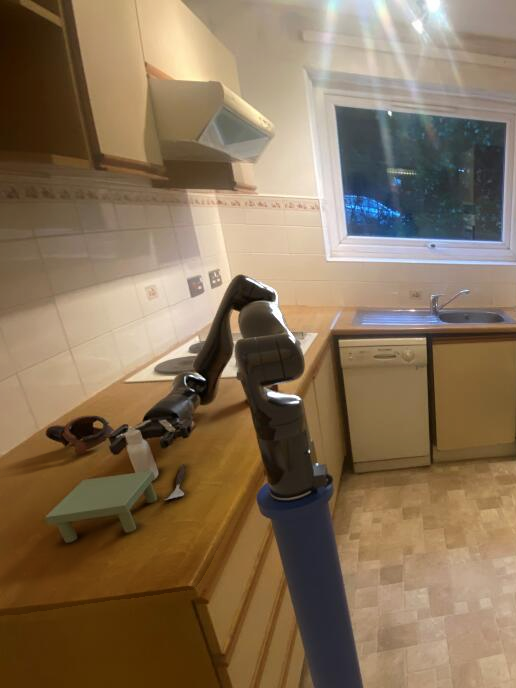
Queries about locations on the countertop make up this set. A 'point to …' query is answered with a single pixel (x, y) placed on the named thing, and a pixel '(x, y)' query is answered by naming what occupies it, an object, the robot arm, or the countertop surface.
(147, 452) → the eye dropper bottle
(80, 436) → the pottery mug
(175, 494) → the fork
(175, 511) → the countertop surface
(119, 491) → the stool
